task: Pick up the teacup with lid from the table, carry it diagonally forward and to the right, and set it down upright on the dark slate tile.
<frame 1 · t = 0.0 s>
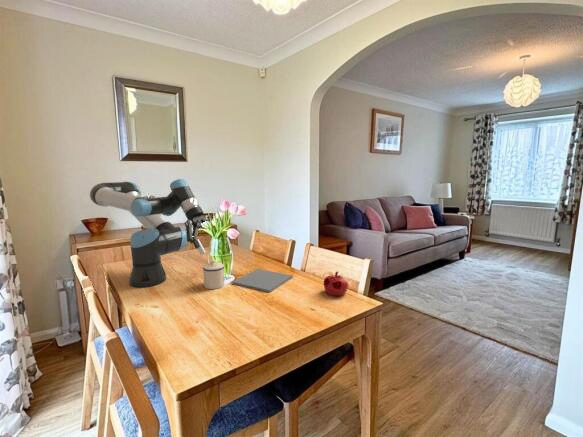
hand: (214, 250, 130), 15 cm above the table, tool tilted 35°, fingers open, 13 cm apart
teacup with lid: (212, 285, 131), on the table
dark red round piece: (335, 293, 122), on the table
slate tile: (263, 280, 136), on the table
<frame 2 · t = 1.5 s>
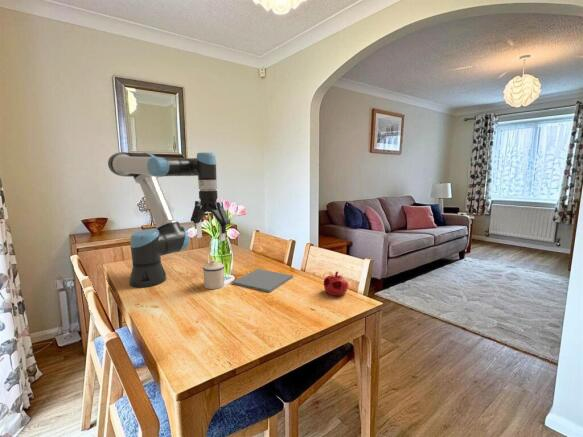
hand: (210, 239, 128), 21 cm above the table, tool pointing down, fingers open, 13 cm apart
nothing on the table moved.
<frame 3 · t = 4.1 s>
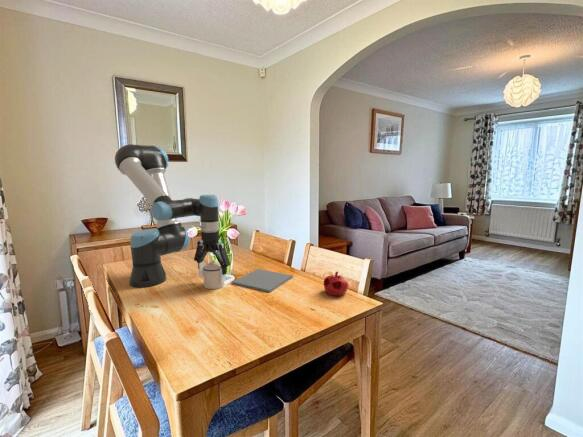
hand: (212, 278, 130), 3 cm above the table, tool pointing down, fingers closed on teacup with lid, 12 cm apart
teacup with lid: (212, 285, 131), on the table, touching gripper
everything else where it was.
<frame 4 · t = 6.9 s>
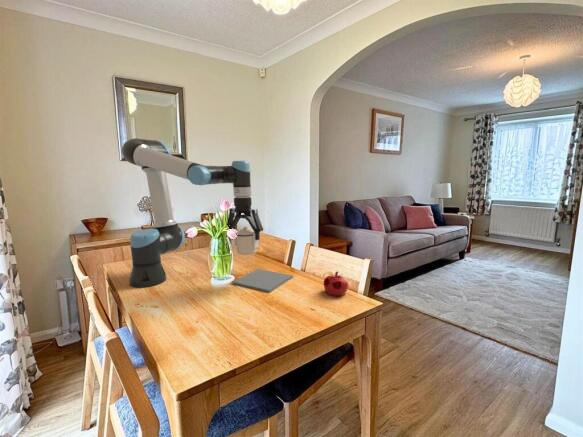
hand: (244, 245, 131), 17 cm above the table, tool pointing down, fingers closed on teacup with lid, 12 cm apart
teacup with lid: (244, 252, 131), point 14 cm above the table, touching gripper
everything else where it was.
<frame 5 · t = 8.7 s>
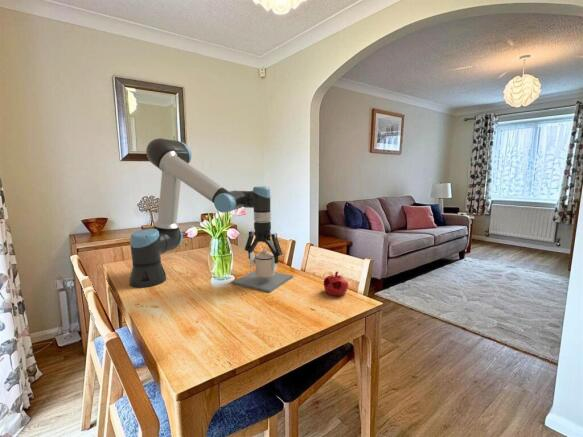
hand: (263, 267, 135), 6 cm above the table, tool pointing down, fingers closed on teacup with lid, 12 cm apart
teacup with lid: (263, 274, 135), point 3 cm above the table, touching gripper
everything else where it was.
when the fingers open (5 cm above the table, at t = 9.8 s): teacup with lid drops 1 cm, resting on slate tile.
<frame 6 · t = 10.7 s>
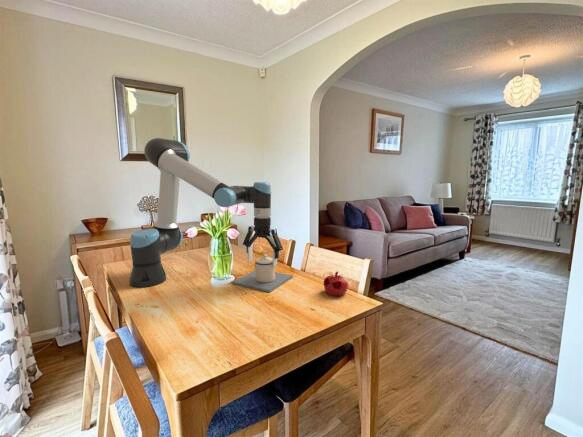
hand: (262, 262, 134), 8 cm above the table, tool pointing down, fingers open, 13 cm apart
teacup with lid: (263, 279, 135), point 1 cm above the table, touching gripper, slate tile
everything else where it was.
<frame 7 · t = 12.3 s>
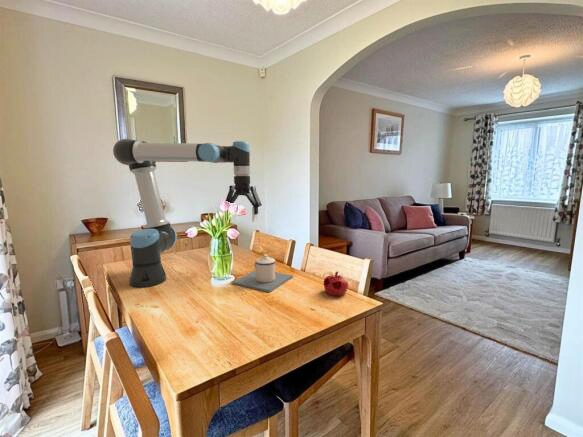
hand: (243, 220, 141), 27 cm above the table, tool pointing down, fingers open, 13 cm apart
teacup with lid: (263, 279, 135), point 1 cm above the table, touching slate tile
everything else where it was.
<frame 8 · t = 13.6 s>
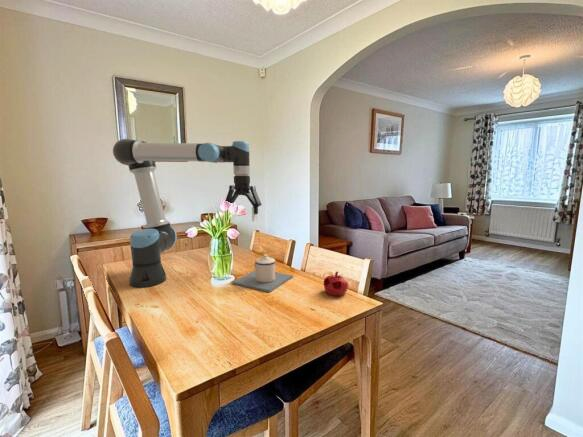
hand: (243, 219, 142), 27 cm above the table, tool pointing down, fingers open, 13 cm apart
nothing on the table moved.
at the end: teacup with lid inside the target area on the slate tile (0.2 cm from its centre), point 0.8 cm above the slate tile's base; teacup with lid tilted 0°; the gripper is holding nothing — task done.
